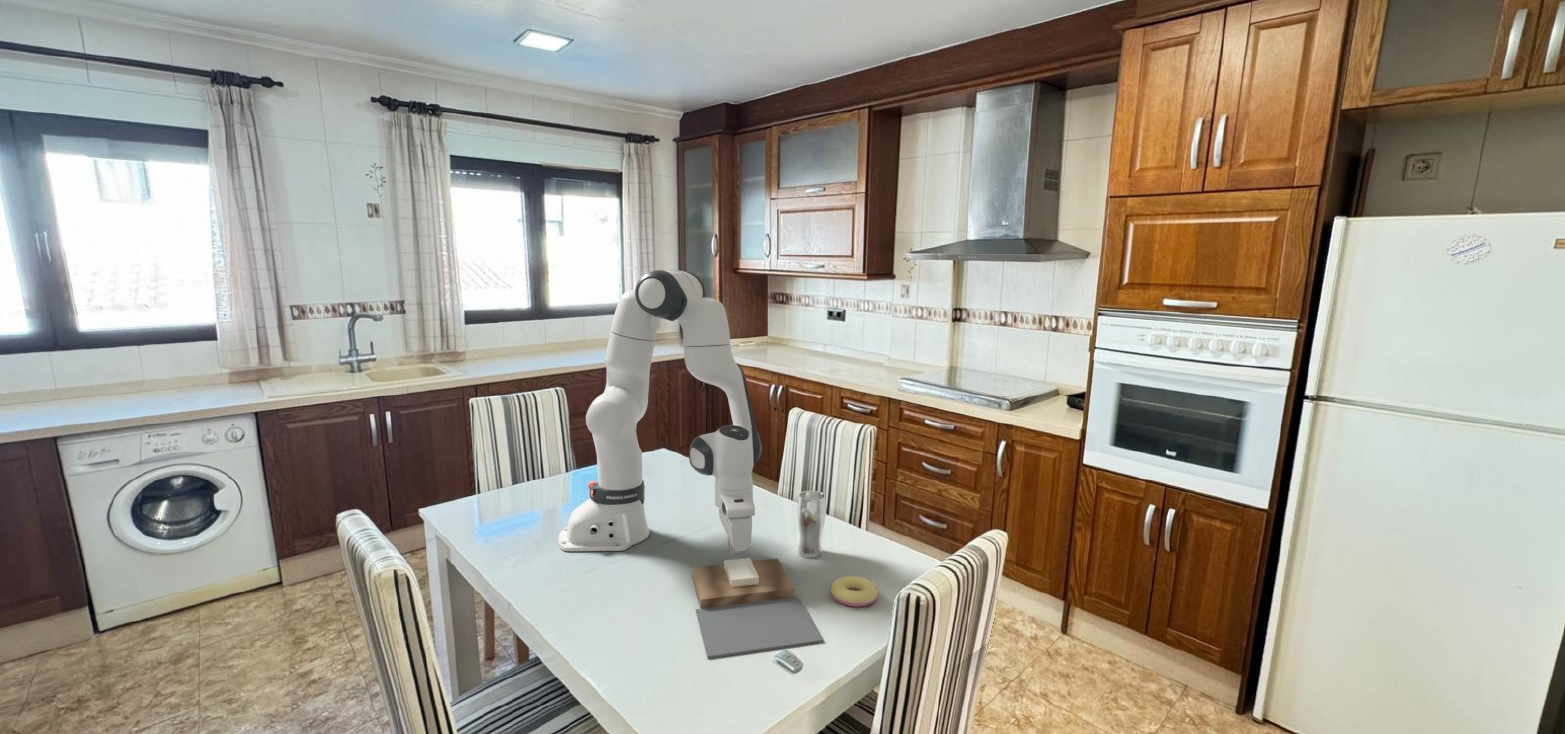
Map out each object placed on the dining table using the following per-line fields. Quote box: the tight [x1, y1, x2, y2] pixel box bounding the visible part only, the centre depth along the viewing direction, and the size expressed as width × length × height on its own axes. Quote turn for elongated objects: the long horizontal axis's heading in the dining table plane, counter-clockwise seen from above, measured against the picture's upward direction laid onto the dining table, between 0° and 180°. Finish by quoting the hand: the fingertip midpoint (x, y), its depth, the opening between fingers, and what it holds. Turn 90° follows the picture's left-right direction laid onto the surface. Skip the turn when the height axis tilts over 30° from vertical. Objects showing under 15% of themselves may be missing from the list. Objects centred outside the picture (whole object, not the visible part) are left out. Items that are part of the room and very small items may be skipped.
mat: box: [695, 596, 824, 660], centre depth 125 cm, size 22×16×1 cm
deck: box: [691, 558, 795, 609], centre depth 139 cm, size 20×14×2 cm
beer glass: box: [796, 490, 827, 559], centre depth 155 cm, size 7×7×15 cm
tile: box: [723, 557, 759, 587], centre depth 139 cm, size 6×9×2 cm, turn 15°
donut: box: [830, 575, 879, 608], centre depth 136 cm, size 10×5×9 cm
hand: (733, 552), depth 148 cm, fingers closed
